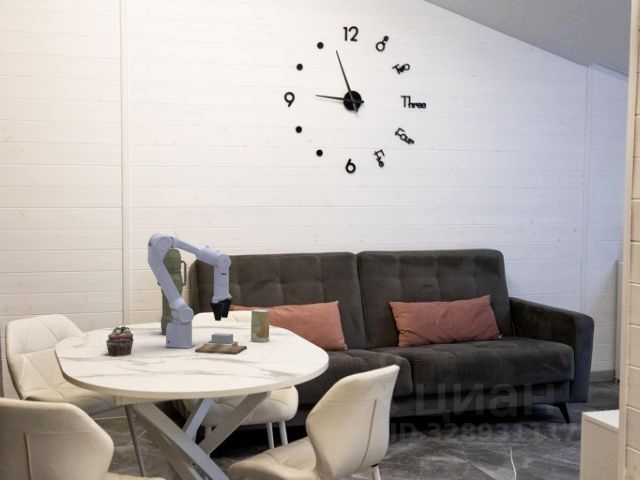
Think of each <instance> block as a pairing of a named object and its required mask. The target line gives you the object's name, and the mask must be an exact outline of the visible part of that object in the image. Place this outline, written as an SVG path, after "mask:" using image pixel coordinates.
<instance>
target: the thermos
mask: <svg viewBox="0 0 640 480" xmlns="http://www.w3.org/2000/svg"><path fill="white" fill-rule="evenodd" d="M163 263H164V265H165V267H166V269H167V271H168V273H169V275H170V277H171V279H172V280H173V282H174V284H175V286H176V288H177V290H178V292H179V294H180V296H181V297H182V295H183V294H182V293H183V291H184V288H183V287H186V286H187V282H188V281H187V279H188V278H187V274H188V272H187V269H188V267H187V263H186V261H185V260H182V254H181V251H180V249H179V248H175V249H171V248H170V250H169V251H168V252H167V253H166V254H165V257H164V259H163ZM182 264H183V276H182ZM156 282H157V283H156V284H157V285H158V286H159V287H160V291H161V292H160V293H161V309H162V310H161V311H162V312H161V320H160V328H161V335H162V336H166V327H167V324H168V323H173V320H174V318H173V317H172V315H171V308H170V306H169V301H168V299H167V297H166V296H165V294H164V292H163V290H162V288H161V286H160V284H159V283H158V281H156ZM182 298H183V297H182Z"/></svg>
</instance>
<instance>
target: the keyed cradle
mask: <svg viewBox="0 0 640 480" xmlns="http://www.w3.org/2000/svg"><path fill="white" fill-rule="evenodd" d="M247 349H248V347H247V345H239V341H237V340H235V341H234V340H233V343H231V344H215V343H212V339H211V340H208V341H207V342H204V343H203V345H202V346H199V347H198V348H195V349H194V352H195V353H201V354H202V353H203V354H218V355H220V354H219V353H221V355H222V354H223V355H239V354H240V353H242V352H244V351H246V350H247Z"/></svg>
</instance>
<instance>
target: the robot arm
mask: <svg viewBox="0 0 640 480" xmlns="http://www.w3.org/2000/svg"><path fill="white" fill-rule="evenodd" d="M170 249H178V250H182V251H185V252H188V253H189V254H192V255H195V258H196V259H197V260H198V261H200V262H203V263H206V264H208V265H210V266H213V297H212V300H211V301H210V302H209V306H210V307H211V308H210V309H211V310H212V313H213V318H214V321H215V322H221V321H222V319H227V318H228V317H229V313H230V309H231V306H232V304H233V300H234V299H232V295H231V294H230V293H229V290H230V288H229V287H230V286H229V285H230V273H229V272H230V269H229V267H231V264H232V260H231V257H229V255H228V254H227V253H226V254H225V253H221V251H220V250H219V249H218V250H215V249H212V248H210V246H209V245H207V244H205V245H203V244H202V245H199V246H196V245H194V244H193V243H190V242H187V241H186V240H183V239H181V238H179V237H176V236H170V235H168V234H162V233H154V234H151V236H150V237H149V240H148V242H147V264H148V265H149V267H150V269H151V271H152V273H153V275H154V276H155V278H156V280H157V281H158V283H159V284H160V286H161V287H160V286H159V287H160V289H161V288H162V290H163V292H164V294H165V296H166V297H167V299H168V301H169V306H170V308H171V315H172V317H173V318H174V320H173V323H168V324H167V327H166V335H165V346H164V347H165V348H178V349H190V348H191V347H194V346H197V343H196V342H195V343H193V320H194V317H195V312H194V309H192V308H191V307H189V306H188V304H187V303H186V301H185V300H184V298H183V297H181V296H180V294H179V292H178V290H177V288H176V286H175V284H174V282H173V280H172V279H171V277H170V275H169V273H168V271H167V269H166V267H165V265H164V263H163V259H164V257H165V254H166V253H167V252H168V251H169V250H170ZM157 281H156V282H157Z"/></svg>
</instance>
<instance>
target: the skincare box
mask: <svg viewBox="0 0 640 480" xmlns="http://www.w3.org/2000/svg"><path fill="white" fill-rule="evenodd" d="M270 314H271V310H270V309H269V310H268V309H267V310H266V309H253V310H251V317H250V318H251V324H250V329H251V330H250V341H251V342H258V343H259V342H260V343H266V342H269V341H270V319H271V318H270V317H271V315H270Z"/></svg>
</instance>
